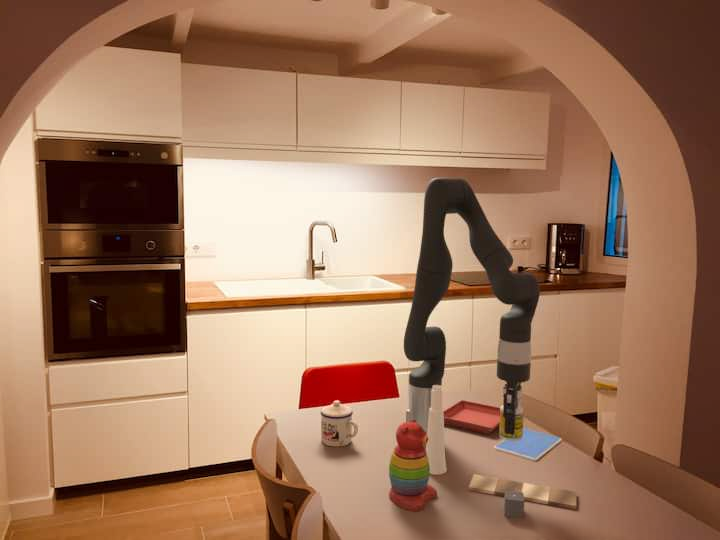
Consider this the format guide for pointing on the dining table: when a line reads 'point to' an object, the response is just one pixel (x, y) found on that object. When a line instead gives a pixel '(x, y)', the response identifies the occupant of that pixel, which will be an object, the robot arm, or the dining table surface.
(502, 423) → the supplement bottle
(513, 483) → the track
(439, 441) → the cosmetic bottle
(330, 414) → the teacup with lid
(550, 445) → the blue flat rectangular panel
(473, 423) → the plant saucer
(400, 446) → the stacking bear
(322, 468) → the dining table surface
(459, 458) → the dining table surface
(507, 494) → the die
